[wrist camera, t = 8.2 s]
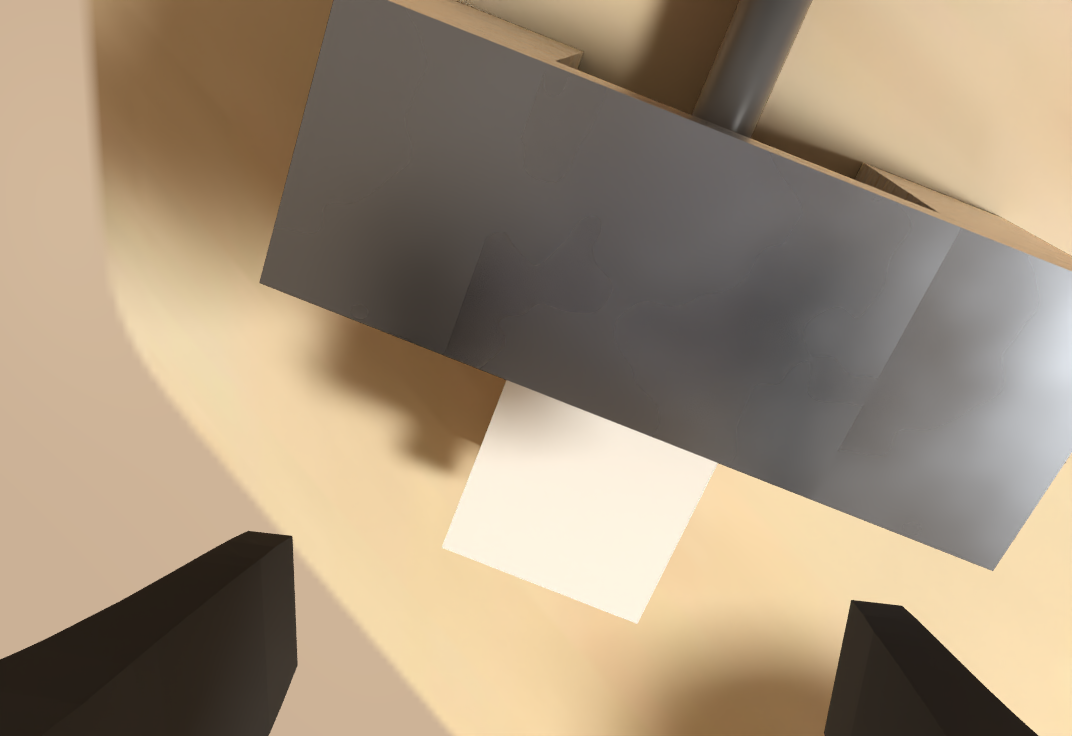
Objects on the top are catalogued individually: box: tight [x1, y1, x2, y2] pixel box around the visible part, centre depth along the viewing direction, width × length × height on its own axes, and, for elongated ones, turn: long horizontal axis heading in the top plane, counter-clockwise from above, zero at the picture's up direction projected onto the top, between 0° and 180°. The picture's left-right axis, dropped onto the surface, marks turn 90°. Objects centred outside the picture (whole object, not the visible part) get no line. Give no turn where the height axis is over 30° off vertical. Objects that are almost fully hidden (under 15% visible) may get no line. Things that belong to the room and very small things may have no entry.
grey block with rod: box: [442, 0, 812, 624], centre depth 16 cm, size 4×16×6 cm, turn 160°
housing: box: [260, 0, 1072, 571], centre depth 16 cm, size 12×4×6 cm, turn 70°
